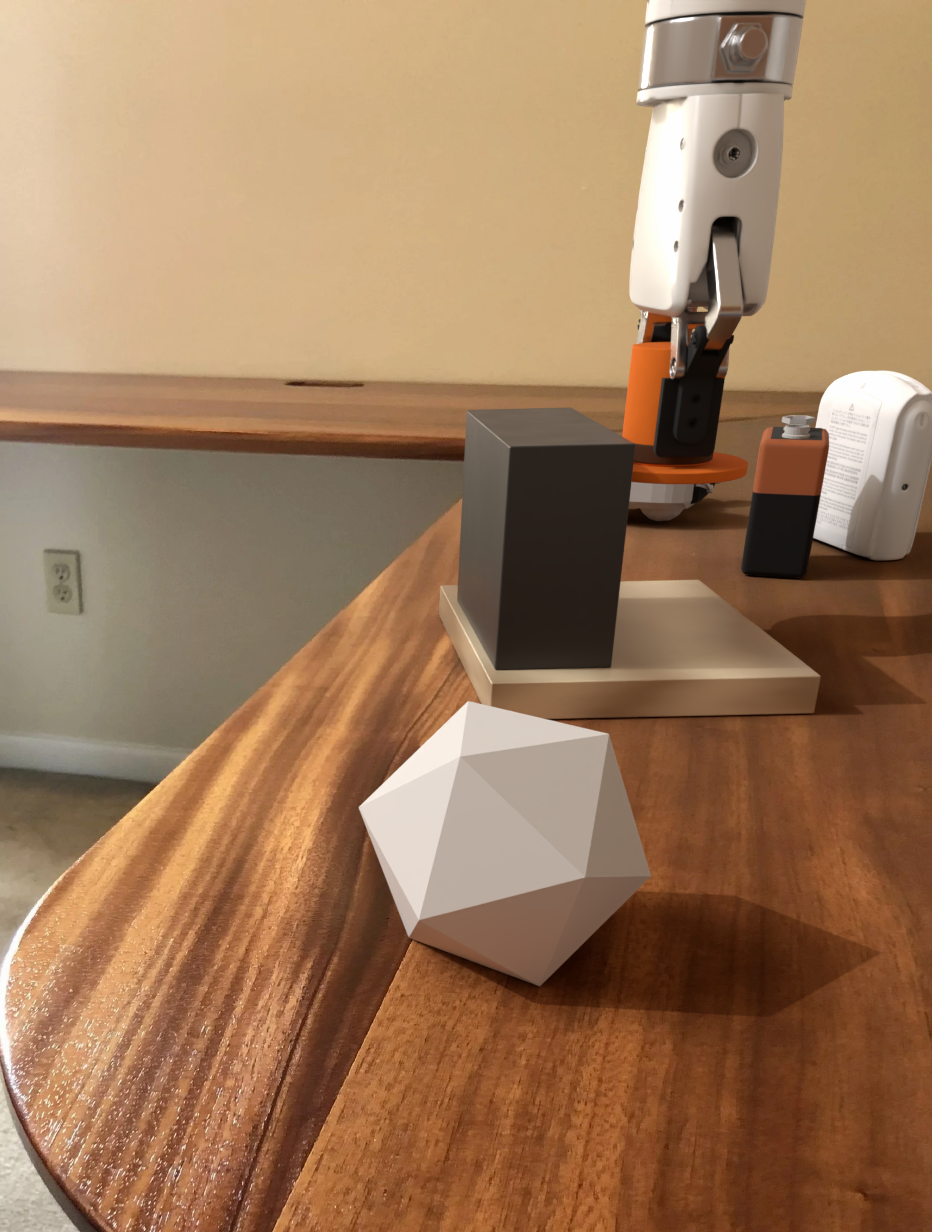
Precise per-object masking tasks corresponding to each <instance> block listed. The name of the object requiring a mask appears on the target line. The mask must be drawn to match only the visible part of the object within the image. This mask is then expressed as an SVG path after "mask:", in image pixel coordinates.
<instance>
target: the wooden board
mask: <svg viewBox="0 0 932 1232" xmlns="http://www.w3.org/2000/svg"><path fill="white" fill-rule="evenodd" d="M457 591H458V584H449V585H448V584H444V585H442V584H441V585H440V587H439V606H438V616H439V615H440V616H439V618H441V619H440V621H441V620H442V621H441V623H442V622H443V623H442V625H443V627H444V629H445V631H446V633H447V635H448V638H449V639H450V642H451V643H452V645H453V648H454V649H455V652H456V655H457V656H458V658H459V661H460V662H461V664H462V666H463V668H464V671H465V673H466V675H467V676H468V677H467V678H469V681H470V683H471V685H472V687H473V689H474V692H475V693H476V695H477V698H478V700H479V701H480V704H483V705H487V706H492V707H496V708H500V709H504V710H509V711H513V712H517V713H522V714H526V715H530V716H534V717H539V718H543V719H547V720H559V719H560V720H565V719H566V720H567V719H568V720H570V719H612V718H613V719H614V718H615V719H617V718H660V717H661V718H662V717H666V718H667V717H709V716H752V715H753V716H756V715H760V716H761V715H799V714H801V715H804V714H806V715H807V714H808V715H809V714H814V713H815V709H816V704H817V700H818V694H819V688H820V683H821V678H822V676H821V675H820V674H819V673H818V672H816V671H815V670H814V669H813V668H811V667H810V666H809V665H807V663H805V662H804V661H803V660H801V659H800V658H798V657H797V656H796V655H794V654H793V652H791V651H790V650H788V649H787V647H785V646H783V645H782V644H781V643H779V642H778V641H777V640H776V639H774V638H773V637H772V636H771V635H770V634H768V633H767V632H766V631H765V630H763V629H762V628H761V627H759V626H758V625H757V624H756V623H754V622H753V621H752V620H750V619H749V618H748V617H746V615H744V613H742V612H741V611H739V610H738V609H737V608H735V607H734V606H733V605H731V604H730V603H729V602H727V600H725V599H724V598H722V597H721V596H720V595H719V594H718V593H717V592H715V590H713V589H711V588H710V587H708V586H707V585H706V584H705V583H703V582H702V581H701V580H700V579H675V580H674V579H672V580H671V579H670V580H669V579H667V580H664V579H663V580H627V581H626V580H625V581H624V580H623V581H622V580H621V582H620V591H619V600H618V609H617V618H616V627H615V637H614V646H613V655H612V664H611V667H610V668H567V669H521V670H495V668H494V667H493V665H492V663H491V661H490V659H489V658H488V656H487V654H486V652H485V650H484V648H483V647H482V645H481V643H480V641H479V639H478V637H477V636H476V634H475V632H474V630H473V628H472V627H471V625H470V623H469V621H468V619H467V617H466V616H465V614H464V612H463V610H462V608H461V607H460V605H459V603H458V601H457Z"/></svg>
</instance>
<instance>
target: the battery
mask: <svg viewBox="0 0 932 1232" xmlns="http://www.w3.org/2000/svg"><path fill="white" fill-rule="evenodd" d="M815 422H816V417H815V416H812V415H811V416H809V415H805V414H803V415H802V414H801V415H797V414H790V415H784V416H782V417H781V423H784V424H785V426H770V427H767V428H766V429H764V431H763V433H762V436H761V439H760V443H759V449H758V453H757V454H758V455H757V461H756V468H755V474H754V481H753V487H752V494H751V500H750V505H749V511H748V513H749V514H748V520H747V527H746V532H745V540H744V544H743V545H744V546H743V552H742V558H741V566H740V570H741V572H742V574H744V575H745V576H751V577H764V578H765V577H767V578H782V579H802V578H804V577H805V576H806V575H807V573H808V569H809V563H810V557H811V552H812V546H813V542H814V541H813V540H814V538H813V536H814V530H815V525H816V519H817V513H818V508H819V502H820V496H821V491H822V485H823V479H824V474H825V468H826V463H827V457H828V451H829V433H828V431H827V430H826V429H822V428H815V427H811V426H810V425H811V424H815Z"/></svg>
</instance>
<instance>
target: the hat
mask: <svg viewBox="0 0 932 1232" xmlns="http://www.w3.org/2000/svg"><path fill="white" fill-rule="evenodd" d="M688 344H689V342H687V346H688ZM631 347H632V348H631V356H630V364H629V374H628V381H627V391H626V399H625V408H624V417H623V426H622V435H621V436H622V437H624V438H626V439H628V440H629V441H631V442H633V443H635V445H636V446H635V455H634V464H633V473H632V482H638V483H651V484H708V483H719V482H722V483H724V482H725V483H726V482H731V481H736V480H739V479H742V478H744V477H745V476H747V471H748V466H749V463H748V461H747V460H746V459H744V458H743V457H740V456H736V455H733V454H728V453H722V452H718V451H714V452H713V454H711V455H710V456H708V457H659V456H657V455H655V453H654V451H653V446H654V438H655V430H656V422H657V414H658V406H659V398H660V390H661V382H662V378H670V348H671V342H650V343H639V344H636V343H634V344H632V346H631ZM719 484H720V483H719Z"/></svg>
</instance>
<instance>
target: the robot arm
mask: <svg viewBox="0 0 932 1232" xmlns="http://www.w3.org/2000/svg"><path fill="white" fill-rule="evenodd" d="M806 4H807V0H646V9H645V18H644V19H645V21H644V29H643V34H642V35H643V36H642V45H641V54H640V63H639V72H638V73H639V74H638V83H637V93H636V102H635V105H637V106H639V107H647V108H652V113H651V118H650V123H649V129H648V135H647V141H646V147H645V149H644V159H643V166H642V172H641V179H640V186H639V192H638V198H637V206H636V214H635V222H634V229H633V236H632V245H631V255H630V267H629V281H628V283H629V286H628V295H629V298H630V302H631V303H632V304H633V305H634V306H635V307H636V308H637V309H639V313H640V318H639V319H638V323H639V324H637V330H638V332H637V335H636V336H637V338H636V341H635V344H639V343H650V342H671V348H670V378H662V382H661V390H660V398H659V406H658V414H657V422H656V430H655V438H654V446H653V451H654V453H655V455H657V456H659V457H708V456H710V455H711V454H713V452H715V449H716V443H717V442H716V441H717V434H718V428H719V421H720V415H721V414H720V413H721V407H722V403H723V402H722V401H723V394H724V387H725V380H726V376H727V374H728V371H729V364H730V363H729V362H730V348H731V347H730V346H731V345H732V344H733V343H734V339H735V335H734V333H735V330H736V329H737V327H738V325H739V324H740V322H741V319H742V318H743V317H752V316H754V315H755V314H757V313H758V312H759V311H760V310H761V309H762V308H763V307H764V305H765V303H766V301H767V296H768V290H769V284H770V283H769V282H770V275H771V268H772V260H773V250H774V242H775V233H776V224H777V215H778V207H779V206H778V205H779V196H780V188H781V187H780V186H781V177H782V176H781V174H782V165H783V163H782V162H783V151H784V148H783V147H784V129H785V128H784V127H785V122H784V121H785V114H784V113H785V101H790V100H791V99H792V97H793V90H794V84H795V76H796V70H797V63H798V56H799V51H800V43H801V39H802V32H803V24H804V20H803V19H804V17H805V11H806ZM699 308H703V309H704V310H707V311H698V309H699ZM693 330H694V331H693ZM687 342H689V344H688V346H687Z"/></svg>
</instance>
